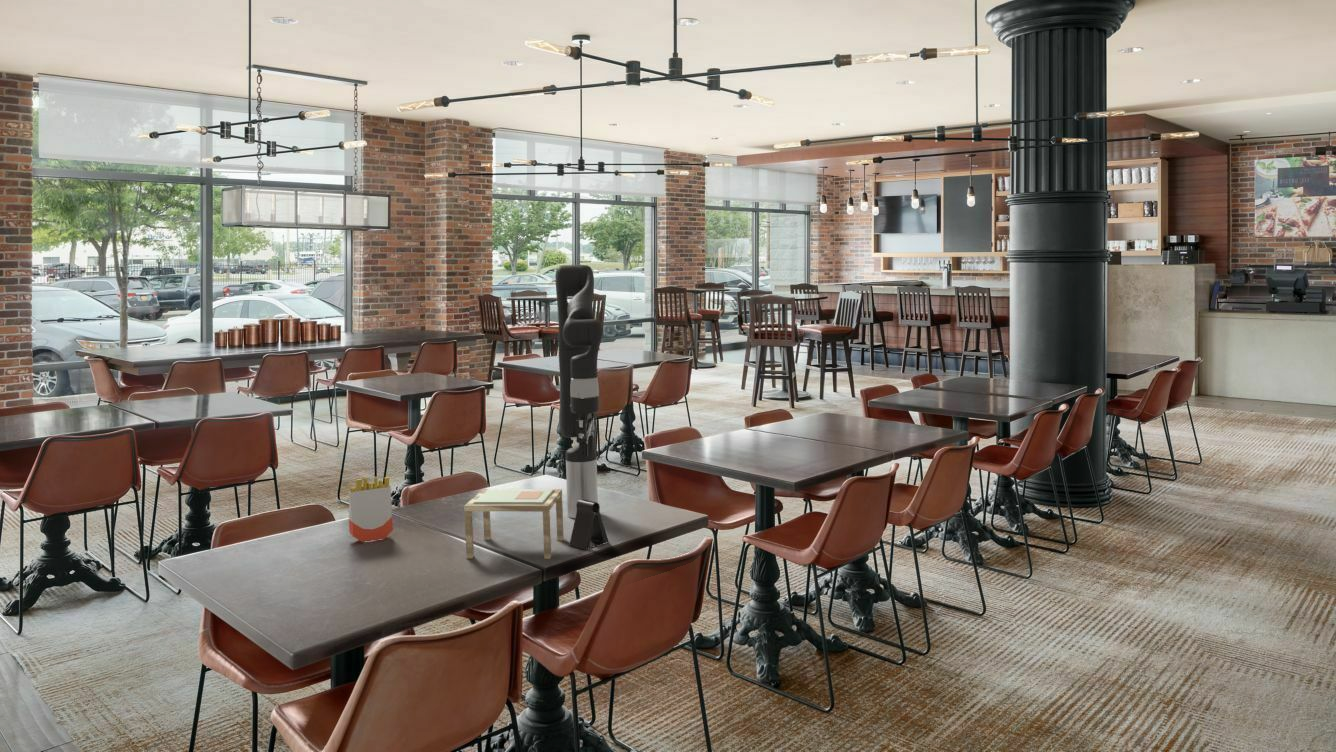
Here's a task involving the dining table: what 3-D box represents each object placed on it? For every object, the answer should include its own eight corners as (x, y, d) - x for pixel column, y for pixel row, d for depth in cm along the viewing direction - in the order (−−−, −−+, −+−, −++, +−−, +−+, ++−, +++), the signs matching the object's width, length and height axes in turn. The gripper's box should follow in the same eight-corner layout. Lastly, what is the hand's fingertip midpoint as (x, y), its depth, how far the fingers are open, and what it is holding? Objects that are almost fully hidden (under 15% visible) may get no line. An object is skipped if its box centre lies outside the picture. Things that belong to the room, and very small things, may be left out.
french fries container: (349, 541, 263) (346, 477, 260) (389, 534, 268) (385, 472, 266) (353, 545, 259) (349, 480, 257) (393, 538, 264) (390, 475, 262)
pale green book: (489, 495, 259) (488, 488, 259) (553, 495, 258) (553, 488, 257) (474, 509, 245) (473, 501, 245) (542, 509, 243) (541, 501, 243)
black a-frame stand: (584, 550, 250) (583, 506, 248) (569, 546, 254) (567, 502, 252) (608, 542, 256) (607, 499, 255) (593, 538, 260) (592, 496, 259)
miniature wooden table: (485, 538, 263) (483, 489, 261) (563, 538, 261) (562, 489, 259) (466, 558, 245) (464, 505, 243) (550, 558, 243) (548, 505, 241)
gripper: (575, 391, 258) (577, 449, 260) (565, 398, 244) (567, 460, 246) (602, 390, 257) (604, 449, 259) (594, 398, 243) (596, 459, 245)
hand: (586, 454), depth 252 cm, fingers open, 8 cm apart
